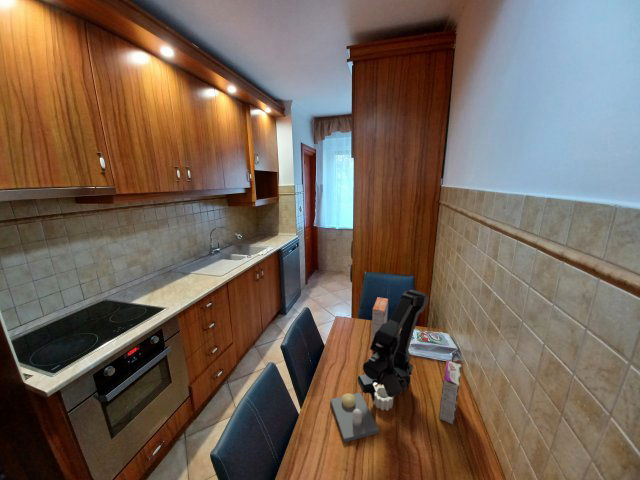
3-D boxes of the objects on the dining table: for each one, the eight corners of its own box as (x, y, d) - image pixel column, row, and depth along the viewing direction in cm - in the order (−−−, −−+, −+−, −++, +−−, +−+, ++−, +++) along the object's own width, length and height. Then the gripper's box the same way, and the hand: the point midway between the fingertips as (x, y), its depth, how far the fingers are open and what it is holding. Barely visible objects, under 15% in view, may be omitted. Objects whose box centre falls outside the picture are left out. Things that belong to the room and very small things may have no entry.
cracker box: (375, 331, 136) (377, 296, 131) (386, 333, 134) (389, 298, 129) (370, 346, 123) (372, 308, 118) (382, 349, 121) (384, 311, 116)
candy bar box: (441, 395, 95) (446, 359, 91) (456, 401, 92) (462, 364, 89) (437, 418, 86) (443, 379, 82) (453, 426, 83) (460, 385, 79)
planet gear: (386, 391, 97) (387, 382, 96) (396, 408, 90) (397, 398, 89) (368, 395, 95) (369, 386, 94) (378, 412, 88) (378, 403, 87)
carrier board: (360, 395, 95) (360, 381, 94) (378, 433, 81) (379, 417, 79) (330, 402, 92) (330, 387, 91) (344, 442, 78) (344, 426, 77)
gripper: (371, 385, 79) (369, 424, 82) (422, 374, 83) (417, 411, 87) (357, 361, 89) (356, 396, 93) (403, 352, 94) (400, 386, 97)
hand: (382, 398), depth 92 cm, fingers open, 8 cm apart
